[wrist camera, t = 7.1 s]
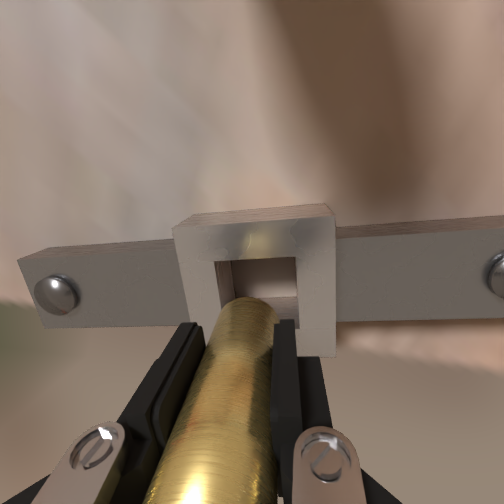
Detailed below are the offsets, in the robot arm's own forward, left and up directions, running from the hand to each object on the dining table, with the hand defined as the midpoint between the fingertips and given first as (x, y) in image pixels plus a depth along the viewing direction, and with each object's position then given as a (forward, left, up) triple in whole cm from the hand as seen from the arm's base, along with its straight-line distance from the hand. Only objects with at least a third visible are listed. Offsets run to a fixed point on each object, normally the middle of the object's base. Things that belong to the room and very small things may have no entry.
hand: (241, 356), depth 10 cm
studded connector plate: (0, 0, -8) cm, 8 cm away
